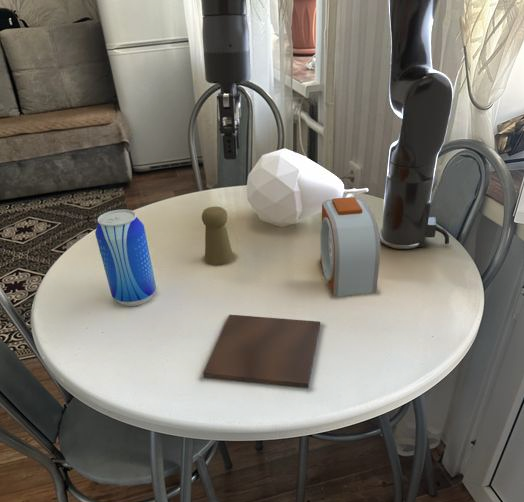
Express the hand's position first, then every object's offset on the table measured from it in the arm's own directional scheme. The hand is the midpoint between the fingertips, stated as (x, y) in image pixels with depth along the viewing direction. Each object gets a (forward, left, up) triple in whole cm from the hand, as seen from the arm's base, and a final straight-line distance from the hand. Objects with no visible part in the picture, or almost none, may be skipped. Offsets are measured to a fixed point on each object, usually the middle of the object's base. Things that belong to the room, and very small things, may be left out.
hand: (232, 153), depth 90 cm
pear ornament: (-11, -23, -23) cm, 34 cm away
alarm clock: (-22, +2, -23) cm, 31 cm away
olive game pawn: (+5, -2, -23) cm, 23 cm away
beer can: (+17, +15, -23) cm, 32 cm away
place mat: (-11, +28, -23) cm, 37 cm away
